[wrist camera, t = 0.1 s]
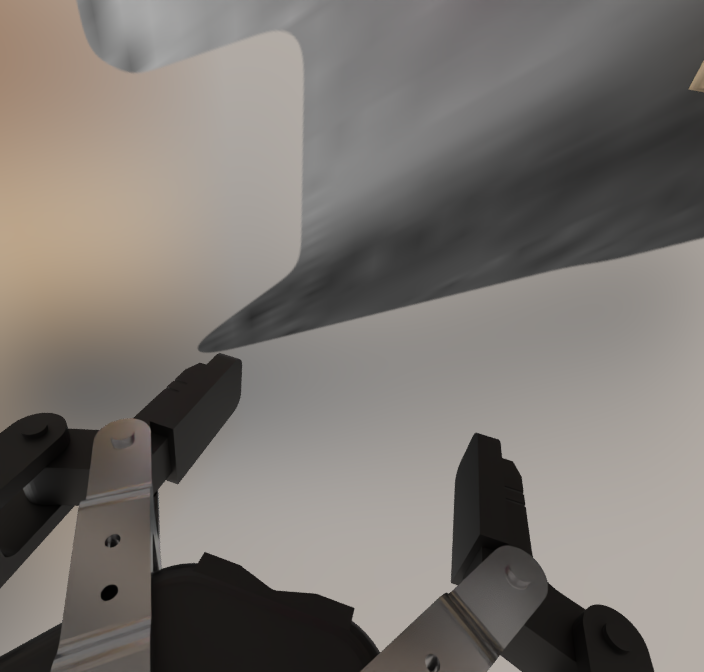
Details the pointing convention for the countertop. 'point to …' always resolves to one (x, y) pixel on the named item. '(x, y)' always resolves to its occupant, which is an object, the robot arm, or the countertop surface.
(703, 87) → the socket block
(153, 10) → the countertop surface
